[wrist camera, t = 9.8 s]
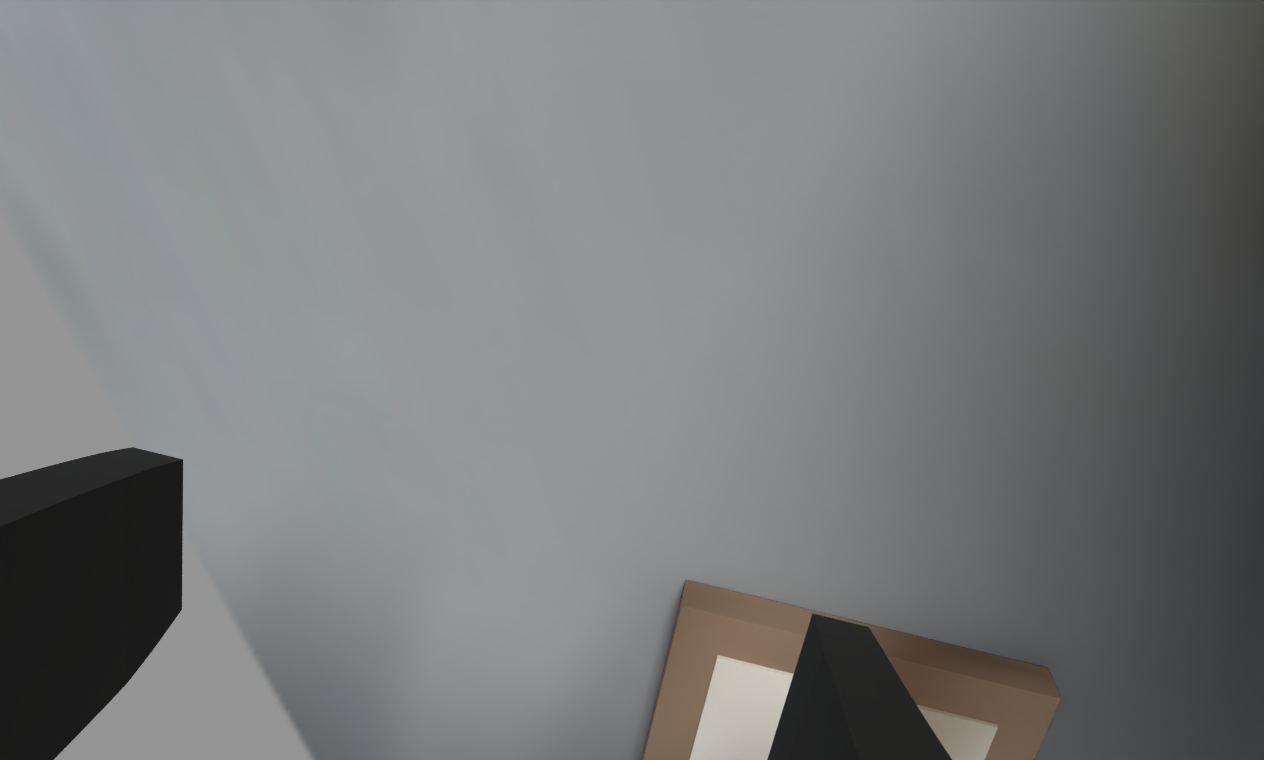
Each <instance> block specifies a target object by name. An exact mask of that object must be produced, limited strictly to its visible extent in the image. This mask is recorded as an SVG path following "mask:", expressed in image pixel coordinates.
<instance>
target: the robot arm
mask: <svg viewBox="0 0 1264 760" xmlns="http://www.w3.org/2000/svg"><path fill="white" fill-rule="evenodd" d="M182 520H183V460H182V459H178V458H174V457H170V456H166V455H162V454H158V453H154V452H150V451H146V450H141V449H137V448H133V447H132V448H127V449H121V450H115V451H109V452H105V453H100V454H96V455H91V456H87V457H83V458H79V459H75V460H71V461H67V462H63V463H59V464H56V465H52V466H48V467H44V468H41V469H37V470H33V471H30V472H26V473H22V474H19V475H15V476H11V477H8V478H4V479H0V760H54V759H55V757H57V756H58V754H59V753H60V752H61V751H62V750H63V749H64V748H65V747H66V746H67V745H68V744H69V743H70V742H71V741H72V740H73V739H74V738H75V737H76V736H77V735H78V734H79V733H80V732H81V731H82V730H83V729H84V728H85V727H86V726H87V725H88V724H89V723H90V722H91V720H92V719H93V718H94V717H95V716H96V715H97V714H98V713H99V712H100V711H101V710H102V709H103V708H104V707H105V706H106V705H107V704H108V703H109V702H110V701H111V700H112V698H113V697H114V696H115V695H116V694H117V693H118V692H119V691H120V690H121V689H122V688H123V687H124V686H125V685H126V683H128V681H129V680H130V679H131V677H132V676H133V675H134V674H135V672H136V671H137V670H138V668H139V667H140V666H141V665H142V663H143V662H144V661H145V659H146V658H147V657H148V655H149V654H150V653H151V652H152V650H153V649H154V648H155V646H156V645H157V643H158V642H159V641H160V639H161V638H162V636H163V635H164V634H165V632H166V631H167V629H168V628H169V626H170V625H171V624H172V622H173V621H174V620H175V618H176V617H177V615H178V614H179V613H180V611H181V610H182ZM767 760H952V759H951V757H950V756H949V754H948V753H947V751H946V750H945V748H944V747H943V745H942V744H941V742H940V741H939V739H938V738H937V736H936V735H935V733H934V732H933V730H932V728H931V727H930V725H929V724H928V722H927V721H926V719H925V717H924V716H923V714H922V713H921V711H920V709H919V708H918V706H917V705H916V703H915V701H914V700H913V698H912V697H911V695H910V693H909V692H908V690H907V688H906V687H905V685H904V684H903V682H902V680H901V679H900V677H899V675H898V674H897V672H896V670H895V669H894V667H893V666H892V664H891V662H890V661H889V659H888V657H887V656H886V654H885V652H884V651H883V649H882V648H881V646H880V644H879V643H878V641H877V639H876V638H875V636H874V635H873V633H872V631H871V630H870V628H869V627H866V626H862V625H858V624H854V623H850V622H846V621H842V620H838V619H834V618H830V617H825V616H821V615H817V614H813V613H812V617H811V620H810V623H809V626H808V629H807V633H806V636H805V639H804V642H803V646H802V649H801V652H800V655H799V659H798V662H797V665H796V668H795V672H794V675H793V678H792V681H791V684H790V688H789V691H788V694H787V697H786V701H785V704H784V707H783V710H782V714H781V717H780V720H779V723H778V727H777V730H776V733H775V736H774V739H773V743H772V746H771V749H770V752H769V756H768V759H767Z"/></svg>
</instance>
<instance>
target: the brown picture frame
mask: <svg viewBox="0 0 1264 760" xmlns="http://www.w3.org/2000/svg"><path fill="white" fill-rule="evenodd" d="M812 613H813V614H817V615H821V616H825V617H830V618H834V619H838V620H842V621H846V622H850V623H854V624H858V625H862V626H866V627H869V628H870V630H871V631H872V633H873V635H874V636H875V638H876V639H877V641H878V643H879V644H880V646H881V648H882V649H883V651H884V652H885V654H886V656H887V657H888V659H889V661H890V662H891V664H892V666H893V667H894V669H895V670H896V672H897V674H898V675H899V677H900V679H901V680H902V682H903V684H904V685H905V687H906V688H907V690H908V692H909V693H910V695H911V697H912V698H913V700H914V701H915V703H916V705H917V706H918V708H919V709H920V711H921V713H922V714H923V716H924V717H925V719H926V721H927V722H928V724H929V725H930V727H931V728H932V730H933V732H934V733H935V735H936V736H937V738H938V739H939V741H940V742H941V744H942V745H943V747H944V748H945V750H946V751H947V753H948V754H949V756H950V757H951V759H952V760H1034V759H1035V757H1036V755H1037V752H1038V750H1039V748H1040V746H1041V743H1042V741H1043V739H1044V737H1045V734H1046V732H1047V730H1048V728H1049V726H1050V723H1051V721H1052V719H1053V717H1054V714H1055V712H1056V710H1057V708H1058V705H1059V703H1060V701H1061V697H1060V694H1059V692H1058V690H1057V687H1056V685H1055V682H1054V680H1053V678H1052V675H1051V673H1050V670H1049V668H1046V667H1041V666H1037V665H1033V664H1029V663H1025V662H1021V661H1017V660H1013V659H1009V658H1005V657H1000V656H996V655H992V654H988V653H984V652H980V651H976V650H972V649H968V648H964V647H959V646H955V645H951V644H947V643H943V642H939V641H935V640H931V639H927V638H923V637H918V636H914V635H910V634H906V633H902V632H898V631H894V630H890V629H886V628H882V627H877V626H873V625H869V624H865V623H861V622H857V621H853V620H849V619H845V618H841V617H836V616H832V615H828V614H824V613H820V612H816V611H812V610H808V609H804V608H800V607H795V606H791V605H787V604H783V603H779V602H775V601H771V600H767V599H763V598H759V597H754V596H750V595H746V594H742V593H738V592H734V591H730V590H726V589H722V588H718V587H713V586H709V585H705V584H701V583H697V582H693V581H689V580H686V581H685V585H684V589H683V593H682V597H681V601H680V605H679V610H678V614H677V618H676V622H675V626H674V630H673V634H672V638H671V642H670V646H669V650H668V654H667V659H666V663H665V667H664V671H663V675H662V679H661V683H660V687H659V691H658V695H657V699H656V703H655V708H654V712H653V716H652V720H651V724H650V728H649V732H648V736H647V740H646V744H645V748H644V752H643V757H642V760H767V759H768V756H769V752H770V749H771V746H772V743H773V739H774V736H775V733H776V730H777V727H778V723H779V720H780V717H781V714H782V710H783V707H784V704H785V701H786V697H787V694H788V691H789V688H790V684H791V681H792V678H793V675H794V672H795V668H796V665H797V662H798V659H799V655H800V652H801V649H802V646H803V642H804V639H805V636H806V633H807V629H808V626H809V623H810V620H811V617H812Z"/></svg>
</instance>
